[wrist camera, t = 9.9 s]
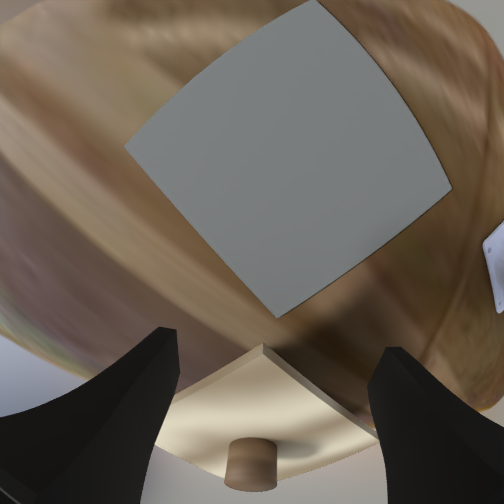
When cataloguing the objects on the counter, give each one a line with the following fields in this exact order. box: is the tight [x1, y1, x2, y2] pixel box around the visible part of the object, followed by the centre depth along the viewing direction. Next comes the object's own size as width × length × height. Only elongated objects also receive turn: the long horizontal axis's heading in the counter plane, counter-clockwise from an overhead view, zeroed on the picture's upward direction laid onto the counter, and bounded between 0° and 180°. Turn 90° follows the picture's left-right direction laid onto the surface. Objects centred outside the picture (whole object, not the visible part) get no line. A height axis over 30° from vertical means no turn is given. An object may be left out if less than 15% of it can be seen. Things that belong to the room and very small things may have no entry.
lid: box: [155, 343, 379, 492], centre depth 14 cm, size 13×13×4 cm
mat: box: [124, 0, 452, 318], centre depth 16 cm, size 16×16×1 cm
